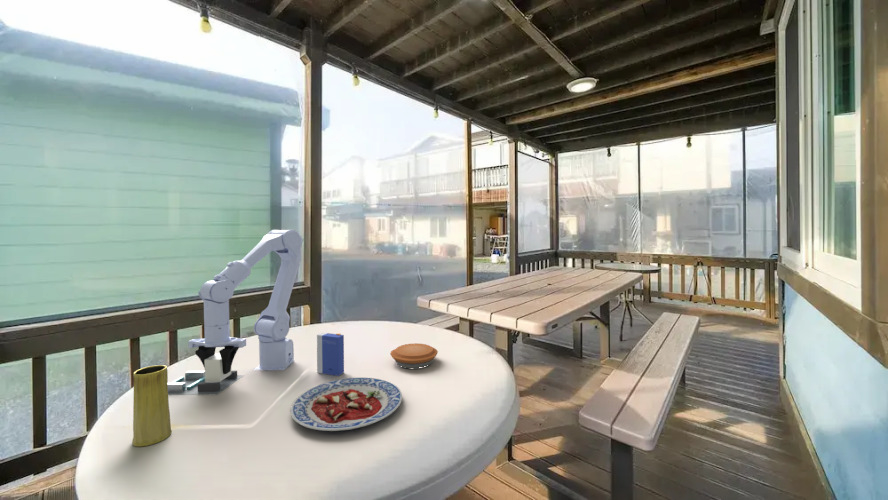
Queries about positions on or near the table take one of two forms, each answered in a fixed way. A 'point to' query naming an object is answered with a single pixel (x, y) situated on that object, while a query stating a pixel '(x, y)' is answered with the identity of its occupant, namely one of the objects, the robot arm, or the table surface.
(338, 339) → the walkman
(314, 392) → the ceramic plate
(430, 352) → the pie
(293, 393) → the table surface
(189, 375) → the port
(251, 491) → the table surface
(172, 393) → the panel
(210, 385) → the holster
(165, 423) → the vase
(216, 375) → the plug
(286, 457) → the table surface
